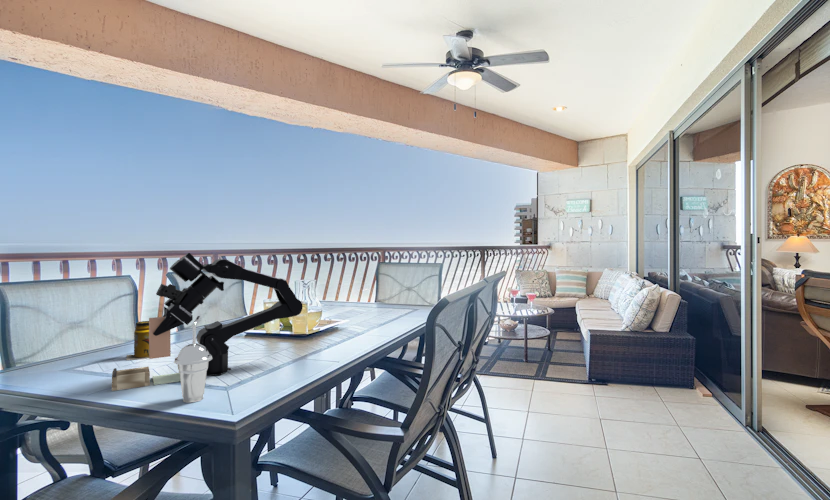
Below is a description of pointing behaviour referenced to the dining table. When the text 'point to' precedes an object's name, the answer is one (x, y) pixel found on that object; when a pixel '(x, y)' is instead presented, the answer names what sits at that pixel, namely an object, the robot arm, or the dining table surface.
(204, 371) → the cup with straw
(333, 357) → the dining table surface
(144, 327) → the condiment
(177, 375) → the pad
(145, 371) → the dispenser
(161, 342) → the pinkish tan rectangular block
